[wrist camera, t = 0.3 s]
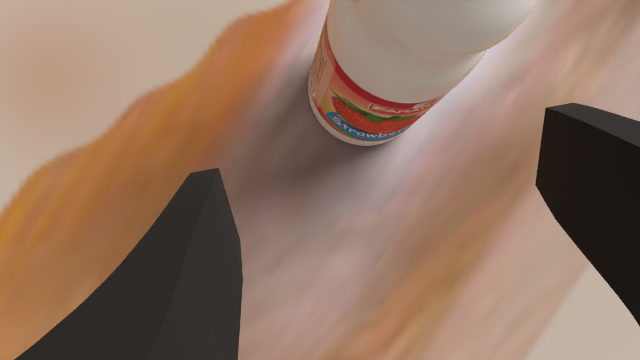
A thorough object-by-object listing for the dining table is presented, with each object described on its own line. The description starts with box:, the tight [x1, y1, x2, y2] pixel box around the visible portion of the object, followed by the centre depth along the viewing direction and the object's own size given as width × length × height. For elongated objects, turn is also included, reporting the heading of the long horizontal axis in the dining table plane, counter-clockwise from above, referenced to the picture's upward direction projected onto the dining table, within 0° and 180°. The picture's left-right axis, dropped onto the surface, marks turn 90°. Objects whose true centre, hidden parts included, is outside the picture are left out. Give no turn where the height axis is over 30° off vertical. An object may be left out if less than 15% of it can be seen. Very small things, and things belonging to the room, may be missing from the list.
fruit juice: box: [308, 0, 538, 146], centre depth 28 cm, size 9×9×28 cm
